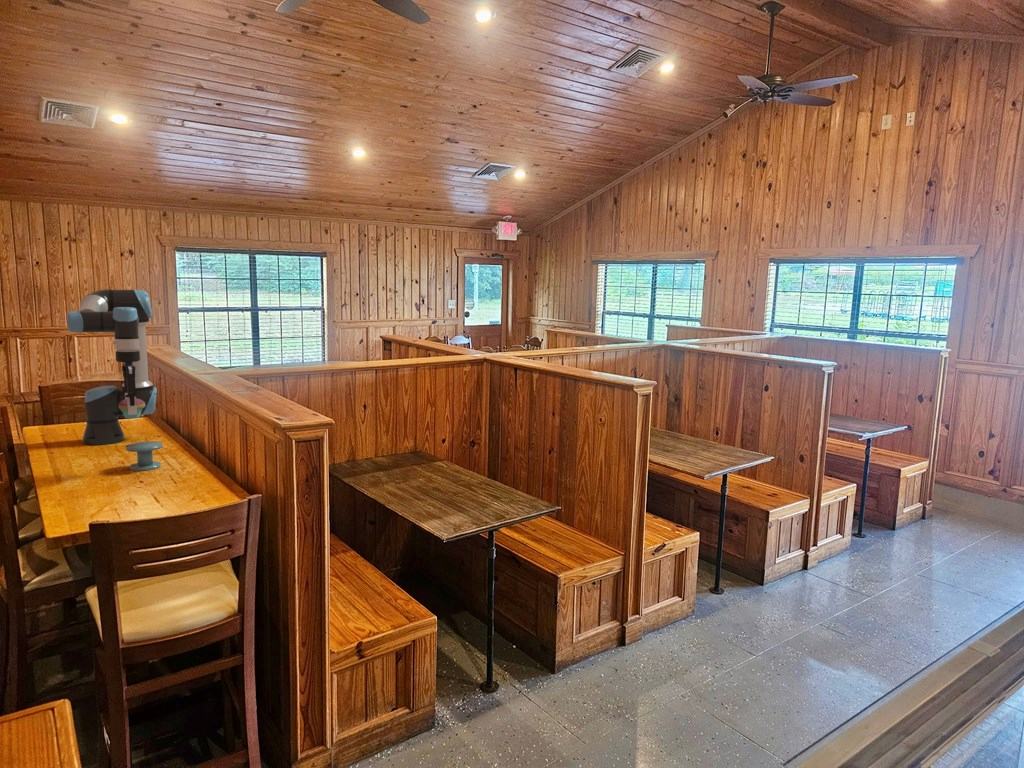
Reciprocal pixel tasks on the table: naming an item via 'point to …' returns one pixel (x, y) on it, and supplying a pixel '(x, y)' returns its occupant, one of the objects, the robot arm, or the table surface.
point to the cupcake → (124, 408)
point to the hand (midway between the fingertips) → (131, 412)
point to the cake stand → (144, 455)
